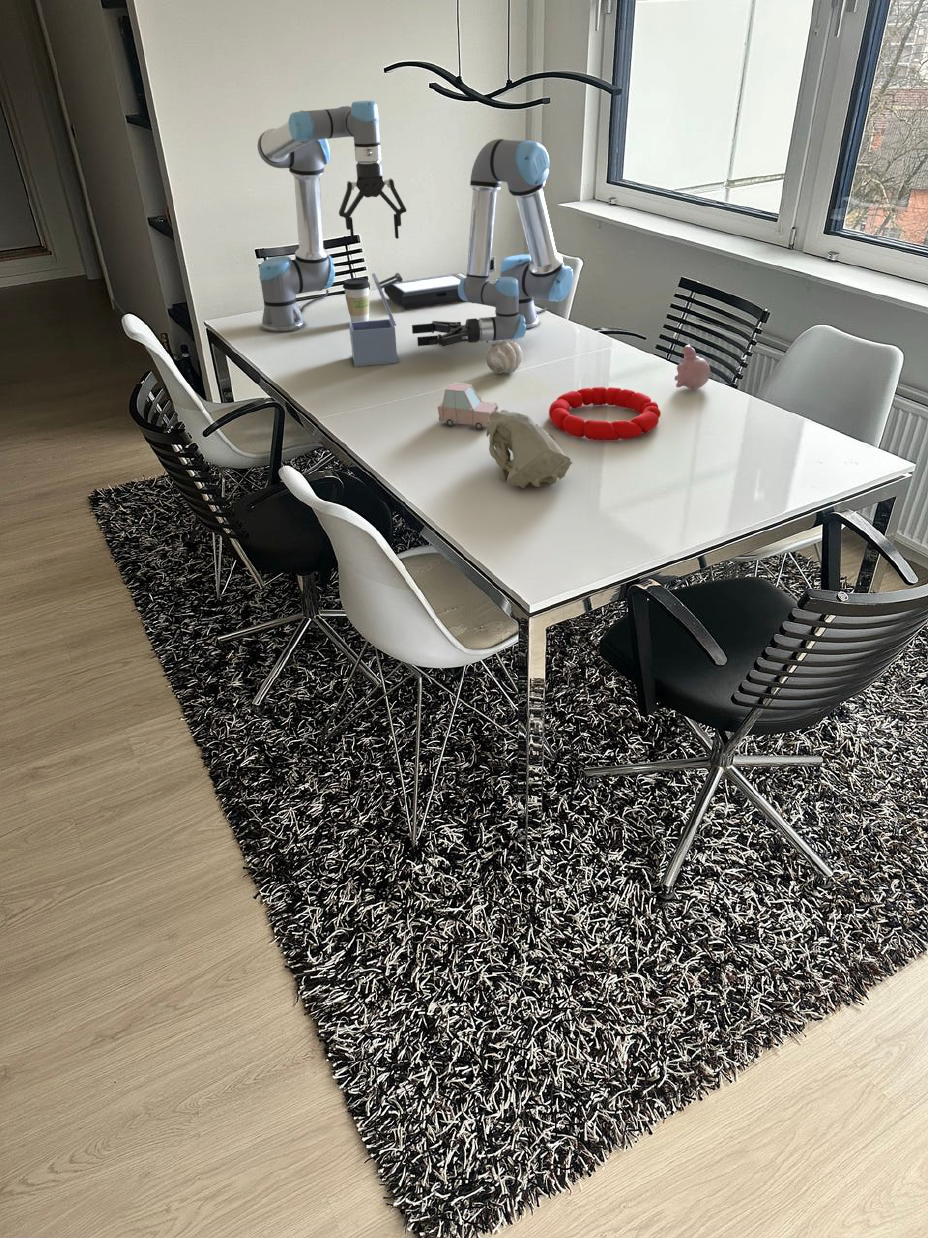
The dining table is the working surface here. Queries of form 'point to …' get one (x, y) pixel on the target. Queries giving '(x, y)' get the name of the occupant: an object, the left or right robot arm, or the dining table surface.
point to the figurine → (692, 370)
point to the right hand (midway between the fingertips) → (414, 335)
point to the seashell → (504, 356)
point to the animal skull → (525, 450)
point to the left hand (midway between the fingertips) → (374, 239)
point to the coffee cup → (357, 298)
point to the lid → (398, 279)
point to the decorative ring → (604, 428)
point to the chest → (373, 342)
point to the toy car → (465, 406)
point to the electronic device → (425, 291)
